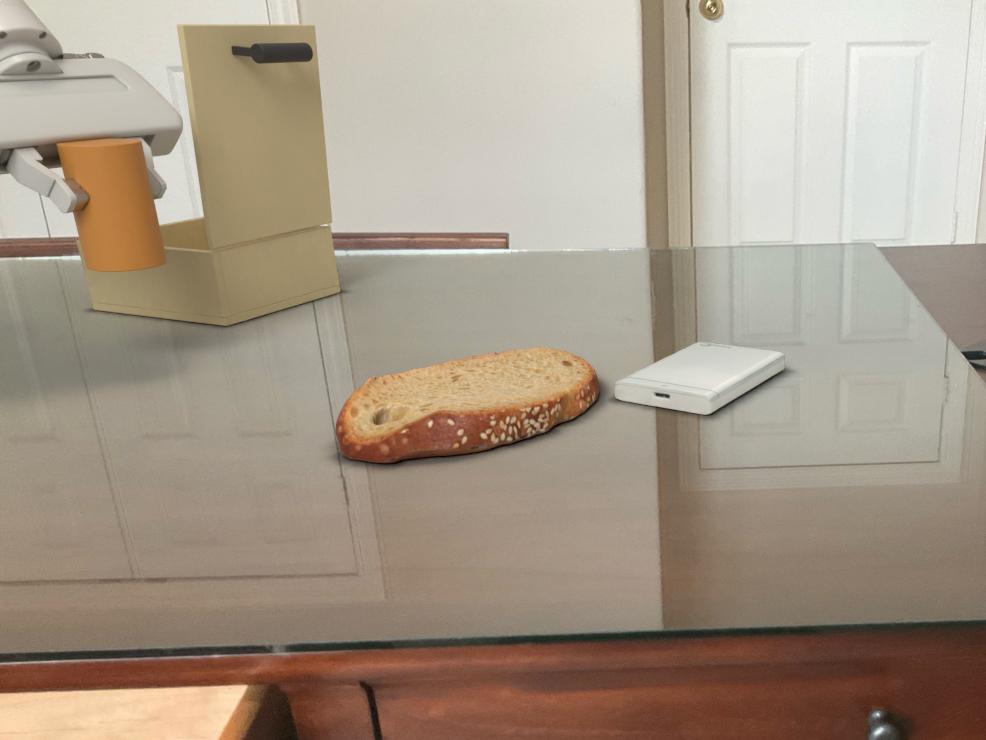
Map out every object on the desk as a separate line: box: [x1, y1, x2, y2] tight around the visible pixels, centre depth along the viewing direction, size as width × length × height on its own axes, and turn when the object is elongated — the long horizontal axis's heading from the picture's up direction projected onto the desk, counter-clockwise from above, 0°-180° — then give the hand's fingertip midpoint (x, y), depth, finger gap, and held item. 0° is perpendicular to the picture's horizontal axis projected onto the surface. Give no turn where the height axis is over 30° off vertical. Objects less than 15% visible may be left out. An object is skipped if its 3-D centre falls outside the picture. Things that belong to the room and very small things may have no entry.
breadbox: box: [75, 216, 341, 327], centre depth 109 cm, size 18×16×7 cm
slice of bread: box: [334, 346, 600, 464], centre depth 76 cm, size 18×18×4 cm
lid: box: [176, 23, 333, 248], centre depth 100 cm, size 18×16×4 cm
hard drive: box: [613, 341, 786, 416], centre depth 83 cm, size 2×8×12 cm
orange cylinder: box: [56, 138, 167, 272], centre depth 82 cm, size 6×6×9 cm
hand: (118, 200), depth 81 cm, fingers closed on orange cylinder, 5 cm apart
